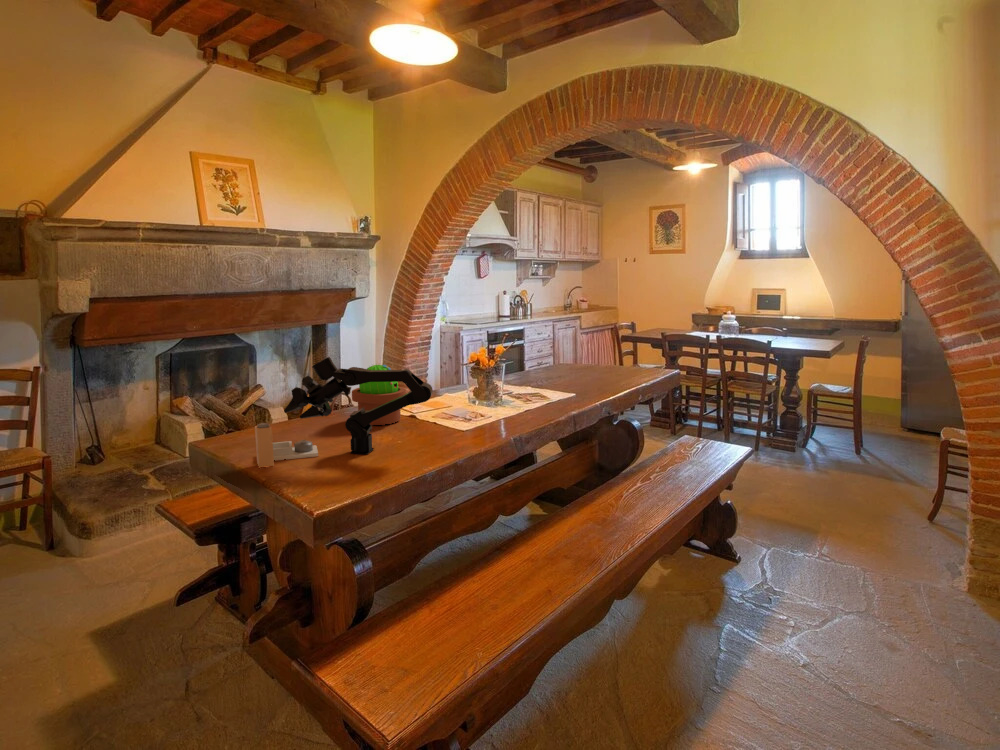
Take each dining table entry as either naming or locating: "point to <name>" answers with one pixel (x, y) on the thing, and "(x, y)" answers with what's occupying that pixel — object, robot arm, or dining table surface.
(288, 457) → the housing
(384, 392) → the potted cactus
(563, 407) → the dining table surface
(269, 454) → the block
